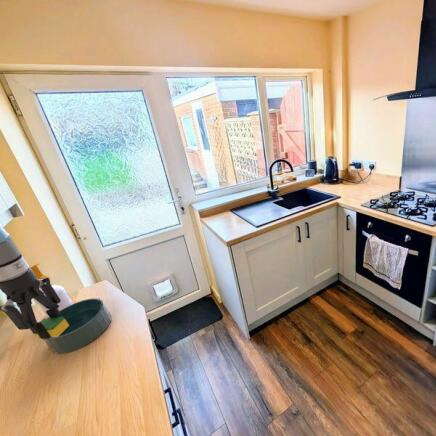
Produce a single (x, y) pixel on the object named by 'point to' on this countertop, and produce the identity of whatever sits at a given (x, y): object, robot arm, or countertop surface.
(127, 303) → the countertop surface
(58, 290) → the soap bottle
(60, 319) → the sponge
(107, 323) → the bowl
